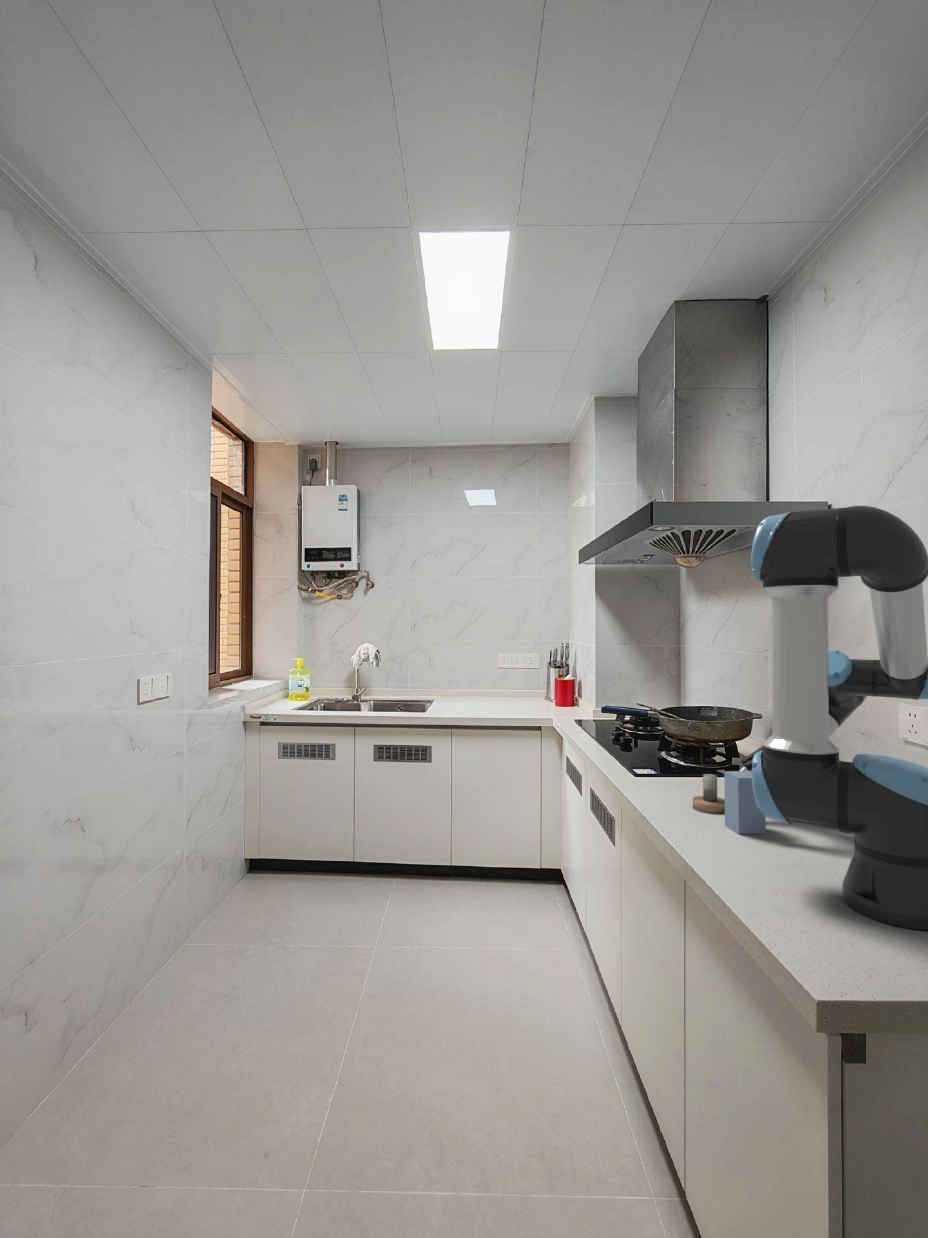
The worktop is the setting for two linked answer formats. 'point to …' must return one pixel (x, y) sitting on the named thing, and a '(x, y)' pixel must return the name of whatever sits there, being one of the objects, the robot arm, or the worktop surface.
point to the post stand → (709, 797)
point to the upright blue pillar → (742, 804)
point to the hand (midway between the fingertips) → (744, 800)
